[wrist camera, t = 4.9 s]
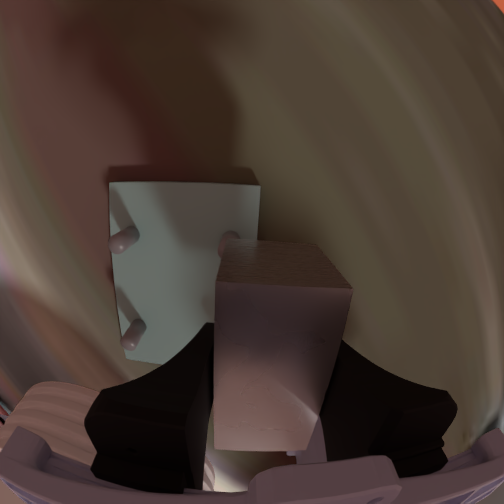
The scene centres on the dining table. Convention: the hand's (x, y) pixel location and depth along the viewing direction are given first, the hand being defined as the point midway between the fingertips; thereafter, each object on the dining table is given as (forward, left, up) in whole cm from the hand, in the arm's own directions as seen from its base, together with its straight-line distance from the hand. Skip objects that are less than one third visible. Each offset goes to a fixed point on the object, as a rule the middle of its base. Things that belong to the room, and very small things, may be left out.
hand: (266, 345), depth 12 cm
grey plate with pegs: (-1, +5, -8) cm, 10 cm away
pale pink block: (0, 0, -2) cm, 2 cm away
